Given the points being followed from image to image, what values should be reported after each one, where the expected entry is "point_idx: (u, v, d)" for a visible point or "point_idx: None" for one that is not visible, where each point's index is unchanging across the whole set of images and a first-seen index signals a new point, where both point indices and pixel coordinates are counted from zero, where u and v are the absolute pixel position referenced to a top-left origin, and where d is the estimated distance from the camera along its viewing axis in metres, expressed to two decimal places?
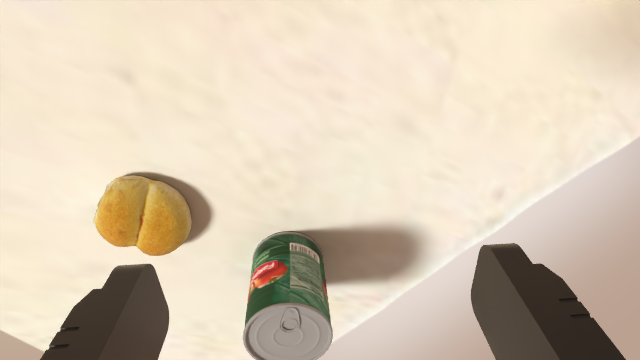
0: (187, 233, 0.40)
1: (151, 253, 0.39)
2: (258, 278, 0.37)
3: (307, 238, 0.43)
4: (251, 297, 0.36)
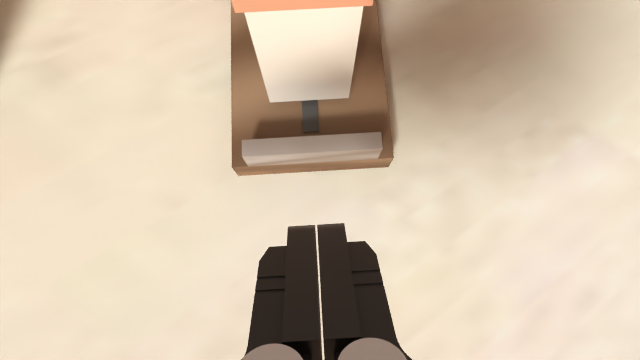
0: None
1: None
2: None
3: None
4: None
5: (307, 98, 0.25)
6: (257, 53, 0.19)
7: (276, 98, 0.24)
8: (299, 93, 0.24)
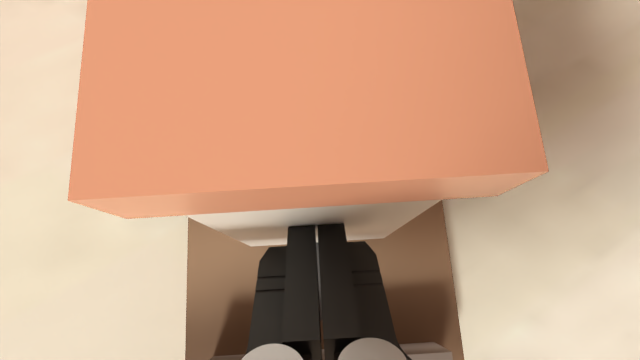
0: None
1: None
2: None
3: None
4: None
5: None
6: (213, 226, 0.09)
7: (262, 244, 0.14)
8: None
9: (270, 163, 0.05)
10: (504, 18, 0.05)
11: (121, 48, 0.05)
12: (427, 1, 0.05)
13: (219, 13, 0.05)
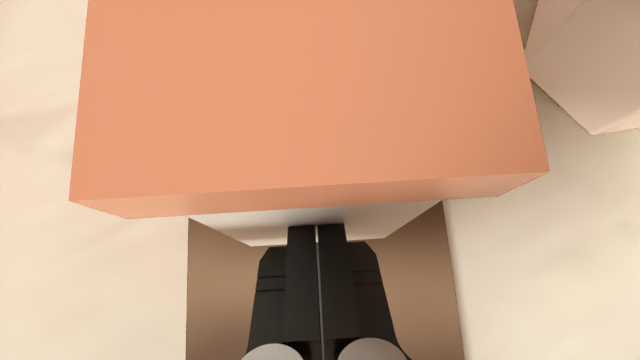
0: None
1: None
2: None
3: None
4: None
5: None
6: (213, 226, 0.09)
7: (262, 244, 0.14)
8: None
9: (271, 163, 0.05)
10: (505, 18, 0.05)
11: (122, 48, 0.05)
12: (428, 1, 0.05)
13: (220, 13, 0.05)
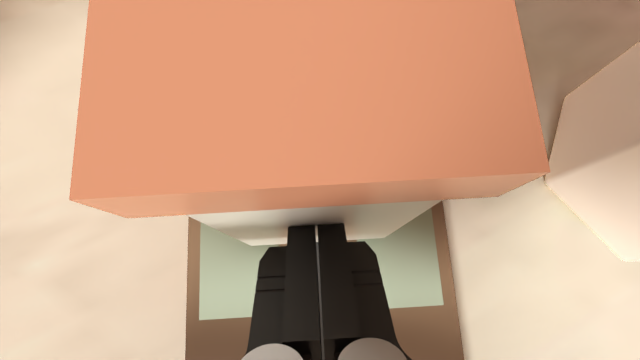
0: None
1: None
2: None
3: None
4: None
5: None
6: (214, 226, 0.09)
7: (262, 244, 0.14)
8: None
9: (272, 163, 0.05)
10: (506, 18, 0.05)
11: (123, 47, 0.05)
12: (429, 1, 0.05)
13: (221, 13, 0.05)
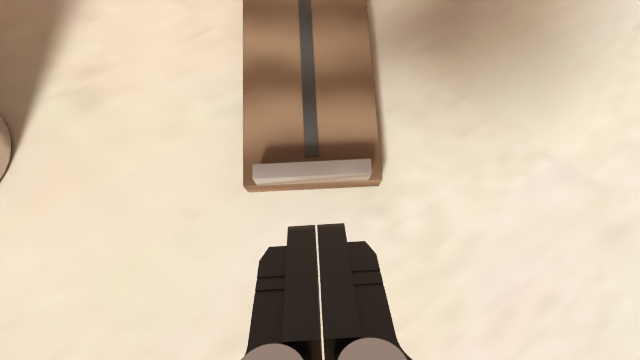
0: None
1: None
2: None
3: None
4: None
5: None
6: None
7: None
8: None
9: None
10: None
11: None
12: None
13: None
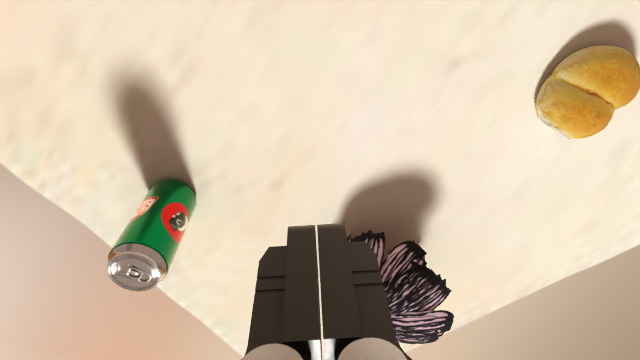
0: (629, 52, 0.35)
1: (634, 95, 0.36)
2: None
3: None
4: None
5: None
6: None
7: None
8: None
9: None
10: None
11: None
12: None
13: None
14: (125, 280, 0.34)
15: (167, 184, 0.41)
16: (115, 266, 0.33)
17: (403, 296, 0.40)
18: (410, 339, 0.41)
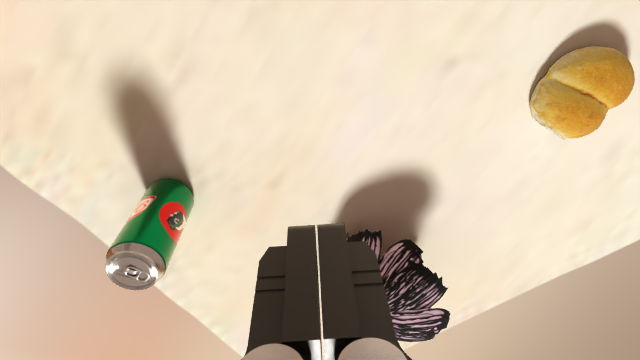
0: (622, 53, 0.36)
1: (626, 96, 0.37)
2: None
3: None
4: None
5: None
6: None
7: None
8: None
9: None
10: None
11: None
12: None
13: None
14: (123, 279, 0.34)
15: (165, 183, 0.41)
16: (113, 265, 0.33)
17: (399, 294, 0.40)
18: (407, 337, 0.42)
